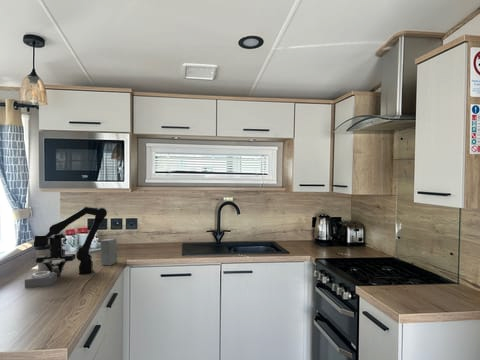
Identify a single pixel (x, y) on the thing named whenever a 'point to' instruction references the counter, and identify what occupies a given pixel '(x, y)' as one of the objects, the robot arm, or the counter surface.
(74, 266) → the counter surface
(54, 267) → the lens
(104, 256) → the skincare box
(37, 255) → the coffee cup
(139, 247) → the counter surface
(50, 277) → the camera body
